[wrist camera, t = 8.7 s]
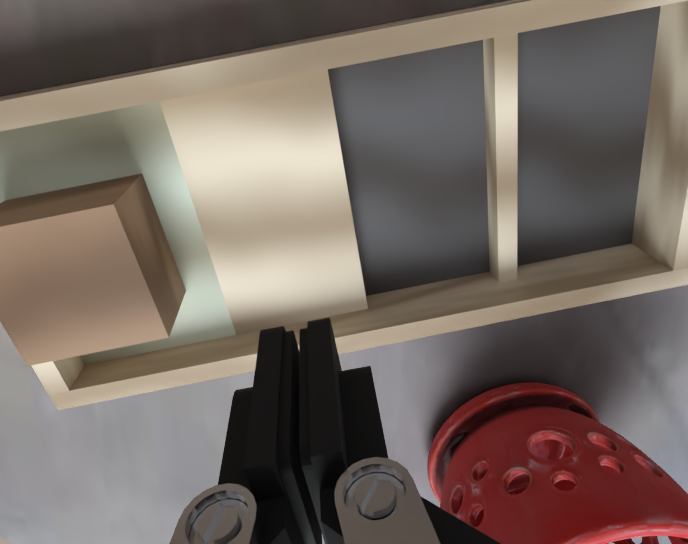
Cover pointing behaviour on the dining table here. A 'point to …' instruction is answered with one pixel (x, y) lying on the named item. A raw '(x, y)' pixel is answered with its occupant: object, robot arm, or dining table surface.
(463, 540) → the robot arm
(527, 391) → the plant pot
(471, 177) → the track
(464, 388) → the dining table surface
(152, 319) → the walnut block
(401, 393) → the dining table surface
